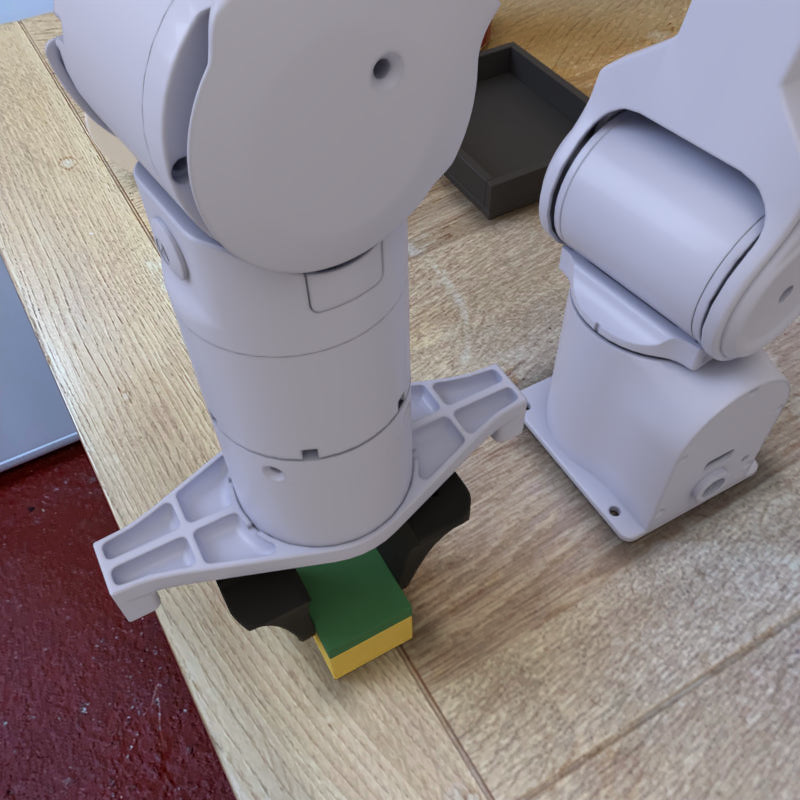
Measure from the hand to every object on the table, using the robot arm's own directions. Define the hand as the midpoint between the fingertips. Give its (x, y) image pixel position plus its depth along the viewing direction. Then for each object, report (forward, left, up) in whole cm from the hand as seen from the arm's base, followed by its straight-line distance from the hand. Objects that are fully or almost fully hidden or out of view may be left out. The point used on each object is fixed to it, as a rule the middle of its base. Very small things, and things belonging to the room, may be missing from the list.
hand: (345, 593), depth 33 cm
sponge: (0, 0, -1) cm, 1 cm away
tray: (+26, -25, -2) cm, 36 cm away
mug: (+37, -7, -2) cm, 38 cm away
